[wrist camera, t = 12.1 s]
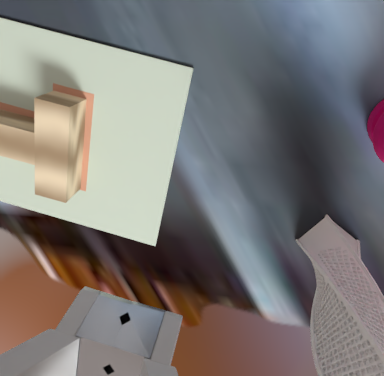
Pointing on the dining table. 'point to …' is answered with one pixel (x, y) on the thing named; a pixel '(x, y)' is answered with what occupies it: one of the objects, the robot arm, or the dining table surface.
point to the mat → (98, 126)
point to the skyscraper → (343, 305)
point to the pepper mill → (377, 129)
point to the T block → (48, 142)
